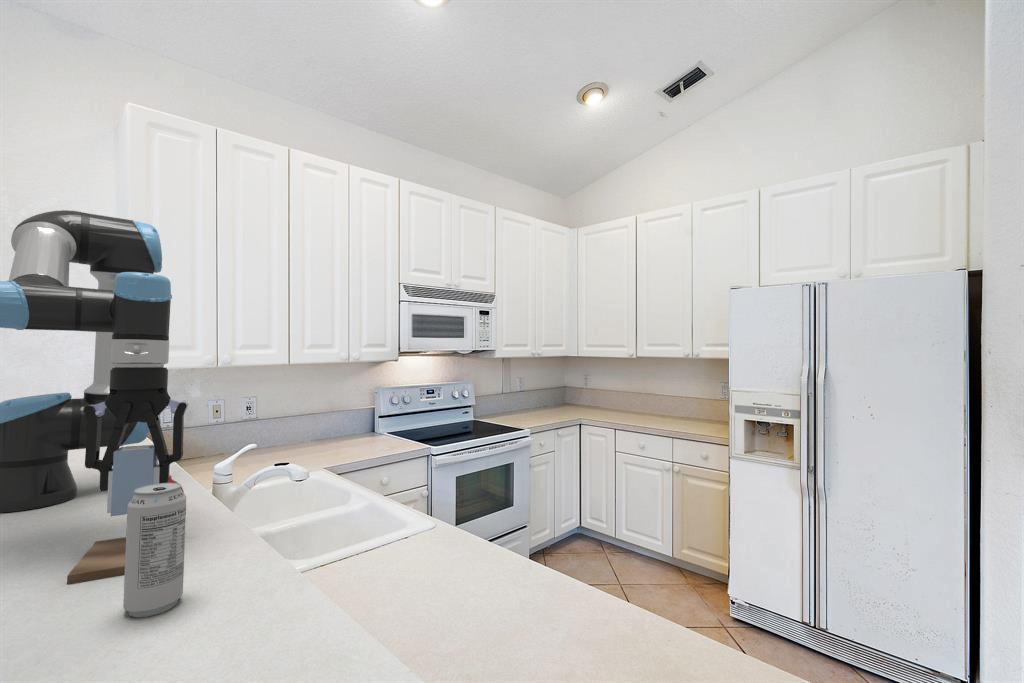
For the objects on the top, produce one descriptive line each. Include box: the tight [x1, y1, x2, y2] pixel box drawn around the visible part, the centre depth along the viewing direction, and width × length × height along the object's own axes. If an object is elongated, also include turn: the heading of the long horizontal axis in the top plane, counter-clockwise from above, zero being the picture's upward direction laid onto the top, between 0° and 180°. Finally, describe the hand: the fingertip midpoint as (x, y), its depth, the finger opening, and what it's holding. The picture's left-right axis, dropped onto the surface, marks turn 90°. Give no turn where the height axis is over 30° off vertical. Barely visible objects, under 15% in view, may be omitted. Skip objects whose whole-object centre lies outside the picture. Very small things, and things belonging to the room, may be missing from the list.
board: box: [66, 536, 126, 585], centre depth 73 cm, size 14×11×1 cm
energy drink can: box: [122, 482, 187, 618], centre depth 59 cm, size 6×6×15 cm
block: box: [110, 444, 158, 517], centre depth 76 cm, size 5×5×10 cm
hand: (134, 507), depth 76 cm, fingers closed on block, 5 cm apart
